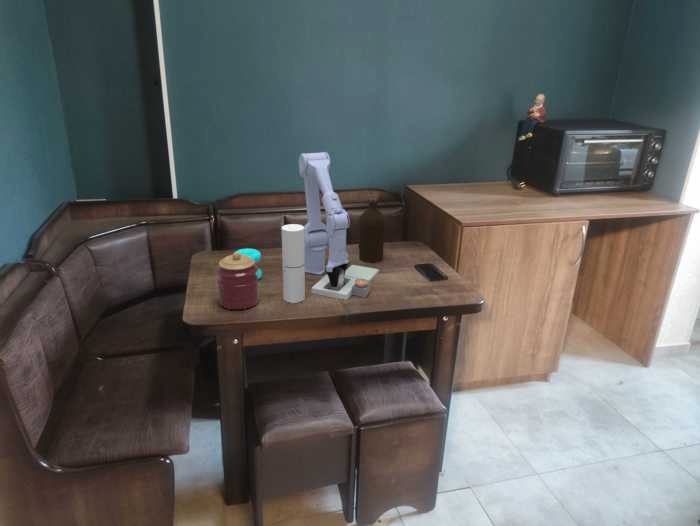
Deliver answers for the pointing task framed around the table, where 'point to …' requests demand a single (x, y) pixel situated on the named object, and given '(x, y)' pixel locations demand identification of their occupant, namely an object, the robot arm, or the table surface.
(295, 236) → the cylindrical container
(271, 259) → the table surface
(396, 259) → the table surface
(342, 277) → the cylinder
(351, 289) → the housing
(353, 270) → the mat
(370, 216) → the olive oil
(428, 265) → the phone
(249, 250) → the cyan rounded piece
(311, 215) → the robot arm
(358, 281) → the plunger
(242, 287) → the canister
